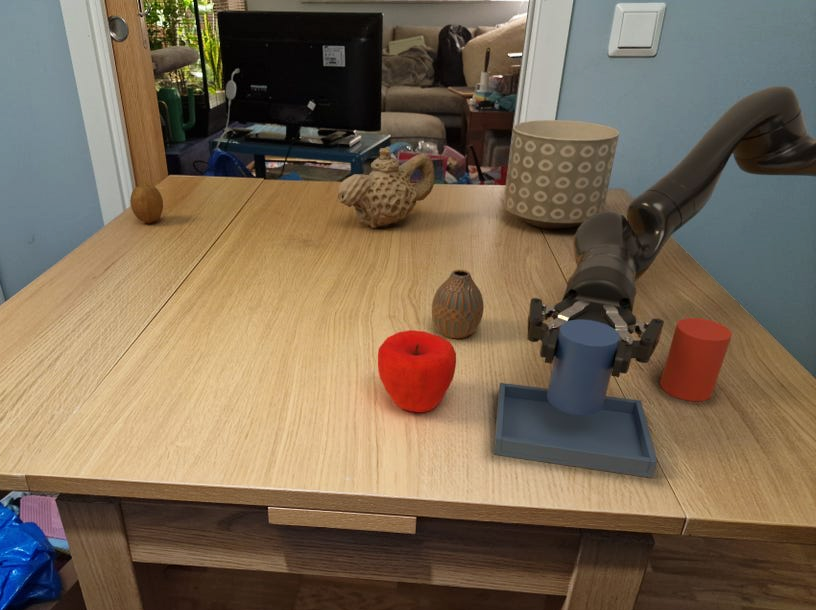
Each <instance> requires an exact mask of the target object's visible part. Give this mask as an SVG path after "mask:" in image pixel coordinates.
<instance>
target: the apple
mask: <svg viewBox="0 0 816 610" xmlns="http://www.w3.org/2000/svg"><path fill="white" fill-rule="evenodd" d="M456 366H457V352H456V350H455V348H454V346H453V344H452V343H451V341H450V340H447V339H445V338H444V337H442V336H439V335H436V334H433V333H430V332H427V331H424V330H412V329H409V330H404V331H403V330H402V331H398V332H396V333H394V334H392V335H390V336H387V337H386V339H385V340H384V341H383V342H382V344H381V345H380V346H379V347H378V352H377V370H378V376H379V379H380V382H381V383H382V385H383V388H384V389H385V391H386V393H387V394H388V395H389V398H390V399H391V400H392V401H393V403H394V404H395V405H396V406H397V407H399V408H400V409H403V410H406V411H409V412H415V413H425V412H431V411H432V410H433V409H435V408H436V407H437V406H438V405H439V404H440V403H441V401H442V400H443V398H444V397H445V395H446V393H447V392H448V390H449V388H450V386H451V384H452V381H453V379H454V376H455V374H456V373H455V372H456Z"/></svg>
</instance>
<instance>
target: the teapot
mask: <svg viewBox="0 0 816 610" xmlns="http://www.w3.org/2000/svg"><path fill="white" fill-rule="evenodd" d="M378 153H379V157H377V158H376V159H374V160H373V161H372V162H371V163H370V167H371V171H370V172H369V174H362V173H361V174H360V173H359V174H358V173H356V174H355V173H354V174H352V175H351V176H348V177H347V178H345V179H343V181H342V182H341V184H340V185H339V186H338V191H337V198H338V199H339V201H340V204H342V205H344V206H347V207H348V208H351V207H354V210H355V213H356V214H357V216H358V218H360V221H361V224H363V225H365V226H370V227H371V229H376V228H388V227H391V226H394V225H397V224H398V223H399V222H401V221H404V219H406V218H407V217H408V215H409V214H411V213H412V212H413V211H414V207H415V206H416V205H417V202H418V201H419V202H421V201H424V200H425V199H426V198H427V197H428V196H429V195H430V194H431V192H432V190H433V188H434V186H435V181H436V178H435V168H434V163H433V160H432V158H431V156H429V154H427V153H423V152H422V153H419V154H417V155H414V156H412V157H411V158H410V159H408V160H407V161H405V162H403V163H401V165H400V163H399V161H398V159H397V158H396V157H393V156H391V155H392V153H391V147H390V146H386V147H381V148H379V151H378ZM418 170H419V171H420V179H419V181H418V182H416V183H413V184H412V183H411V177H412V176H413V174H414V173H415V172H417V171H418Z"/></svg>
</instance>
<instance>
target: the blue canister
mask: <svg viewBox="0 0 816 610" xmlns="http://www.w3.org/2000/svg"><path fill="white" fill-rule="evenodd" d="M619 340H620V335H619V333H618V332H617V331H616V330H615V329H614V328H612V327H610V326H608V325H606V324H603V323H600V322H597V321H592V320H571V321H567V322H565V323H563V324H562V325H561V327H560V330H559V336H558V341H557V346H556V352H555V356H554V359H553V362H552V367H551V371H550V372H551V373H550V378H549V382H548V386H547V389H548V392H547V399H548V401H549V402H550V403H551V404H552V405H553V406H554V407H555V408H557V409H559V410H561V411H563V412H566V413H569V414H574V415H592V414H595V413H598V412H599V411H600V410H601V409H602V408H603V405H604V401H605V397H606V396H607V391H608V388H609V384H610V380H611V377H612V376H611V374H612V368H613V364H614V360H615V356H616V352H617V348H618V344H619Z"/></svg>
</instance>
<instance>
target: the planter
mask: <svg viewBox="0 0 816 610" xmlns="http://www.w3.org/2000/svg"><path fill="white" fill-rule="evenodd" d="M619 137H620V131H619V130H618V129H616V128H614V127H611V126H608V125H604V124H599V123H594V122H588V121H577V120H562V119H541V120H529V121H523V122H519V123H516V124H515V125H514V126H513V128H512V135H511V143H510V151H509V158H508V159H509V160H508V168H507V174H506V182H505V191H504V196H503V197H504V199H503V208H504V209H505V210H506V211H507V212H509V213H510V214H512V215H515V216H517V217H518V218H520V219H521V220H522V221H524V222H526V223H528V224H529V225H531V226H534V227H537V228H541V229H546V230H563V229H569V228H573V227H577V226H580V225H581V224H582V223H583V222H584V221H585V220H586V219H587V218H588V217H590V216H591V215H593V214H595V213H598V212H601V211H605V206H606V205H605V204H606V201H607V195H608V190H609V185H610V181H611V176H612V172H613V166H614V161H615V157H616V156H615V155H616V152H617V148H618V147H617V146H618V141H619Z"/></svg>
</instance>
